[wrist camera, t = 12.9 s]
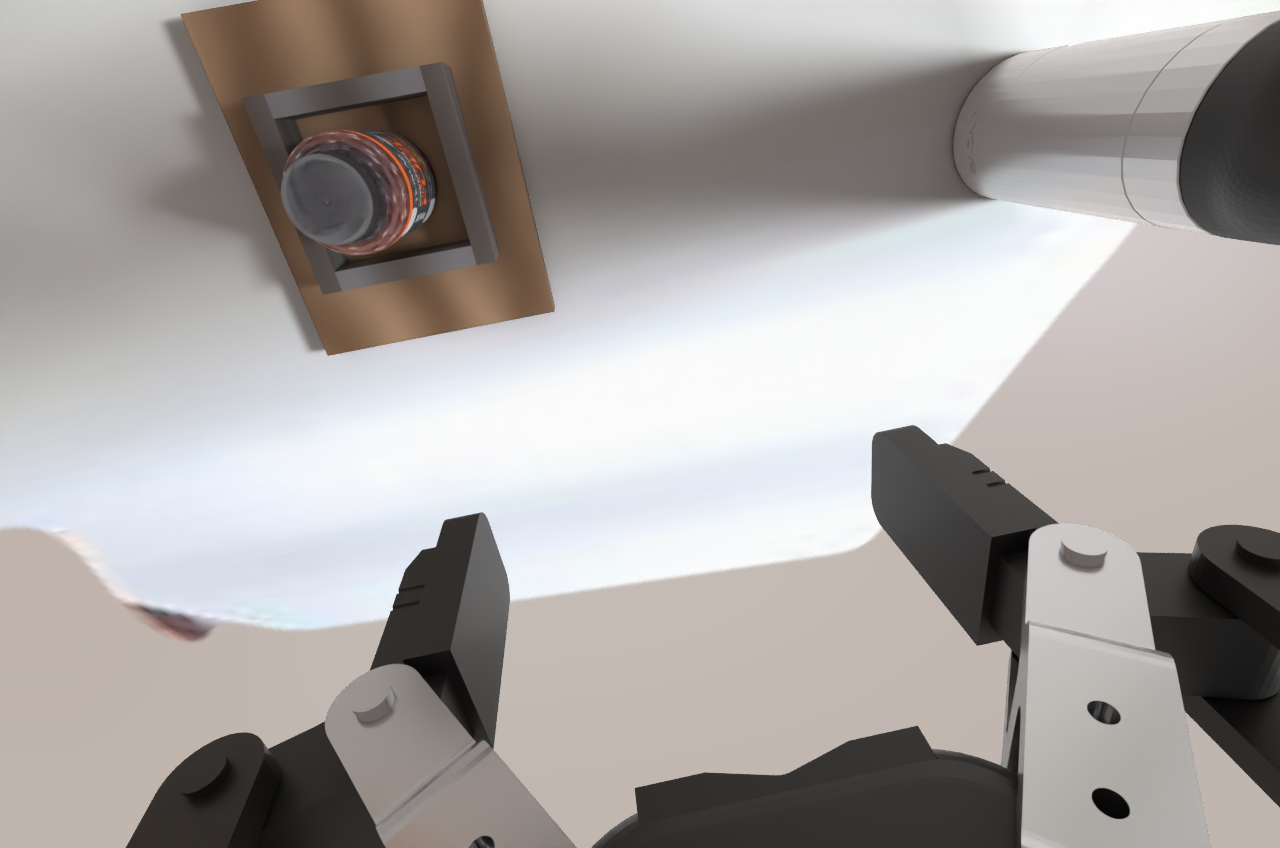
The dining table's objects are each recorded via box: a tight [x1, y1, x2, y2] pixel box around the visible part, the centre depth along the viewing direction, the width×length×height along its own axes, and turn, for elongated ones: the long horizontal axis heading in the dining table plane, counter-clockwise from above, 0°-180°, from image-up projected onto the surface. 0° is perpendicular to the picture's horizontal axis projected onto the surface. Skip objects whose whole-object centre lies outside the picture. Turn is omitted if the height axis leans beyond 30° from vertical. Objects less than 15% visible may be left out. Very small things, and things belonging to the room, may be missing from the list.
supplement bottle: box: [281, 129, 438, 255], centre depth 32 cm, size 6×6×11 cm
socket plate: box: [180, 0, 555, 356], centre depth 37 cm, size 16×20×4 cm
